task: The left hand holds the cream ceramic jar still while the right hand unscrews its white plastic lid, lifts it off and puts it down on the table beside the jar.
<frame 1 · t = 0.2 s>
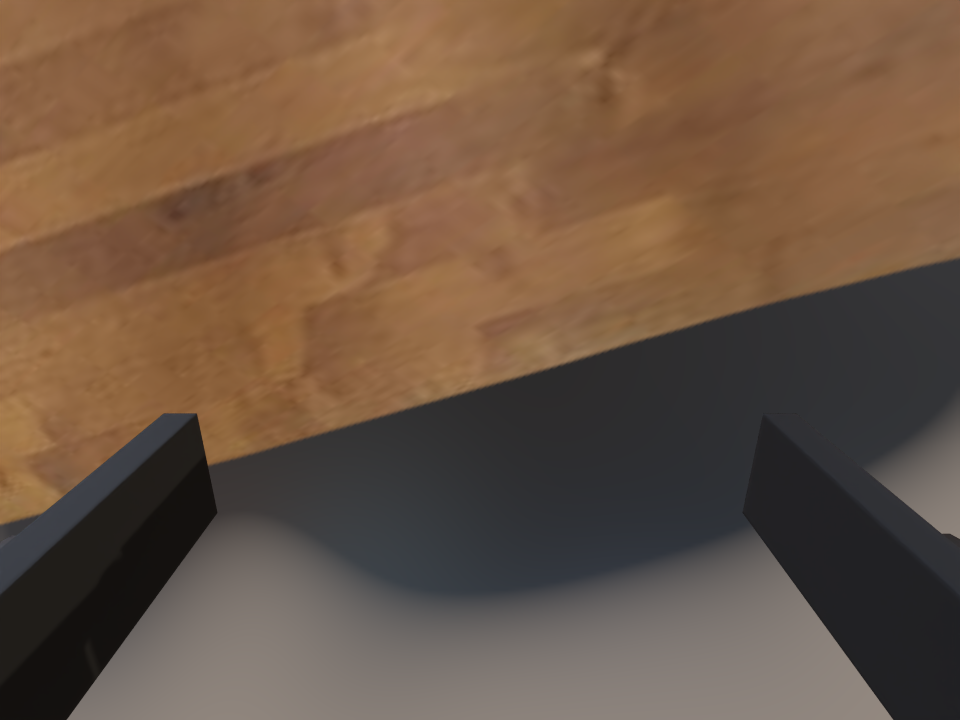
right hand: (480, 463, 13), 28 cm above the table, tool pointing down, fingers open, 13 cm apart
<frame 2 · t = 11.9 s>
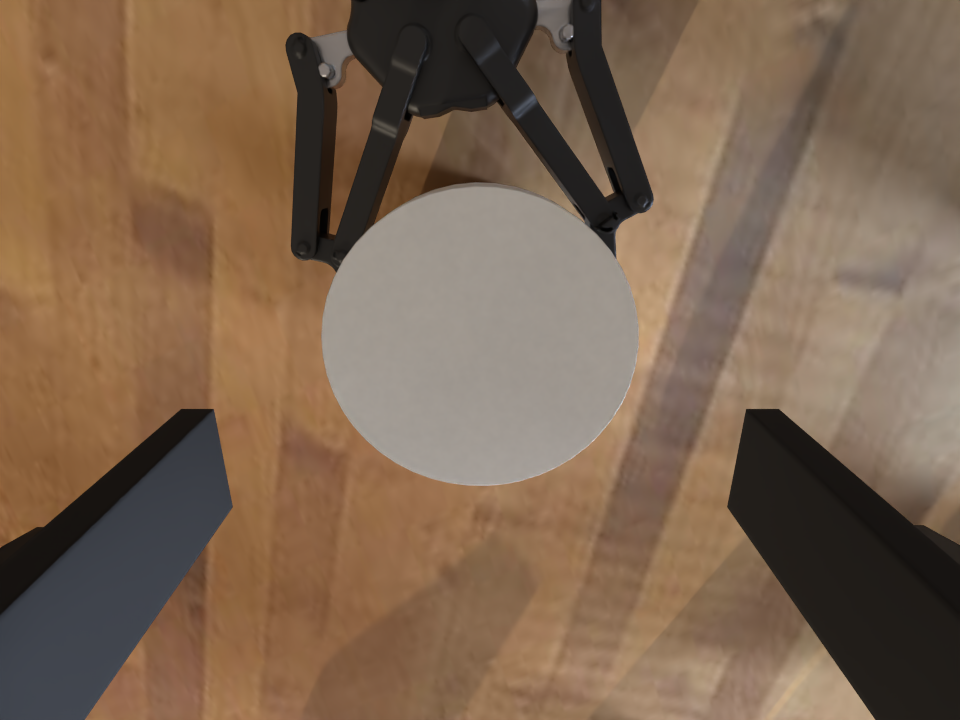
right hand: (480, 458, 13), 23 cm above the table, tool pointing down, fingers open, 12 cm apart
left hand: (490, 365, 30), fingers closed on jar, 10 cm apart
lid: (480, 348, 20), point 16 cm above the table, screwed on, not yet turned
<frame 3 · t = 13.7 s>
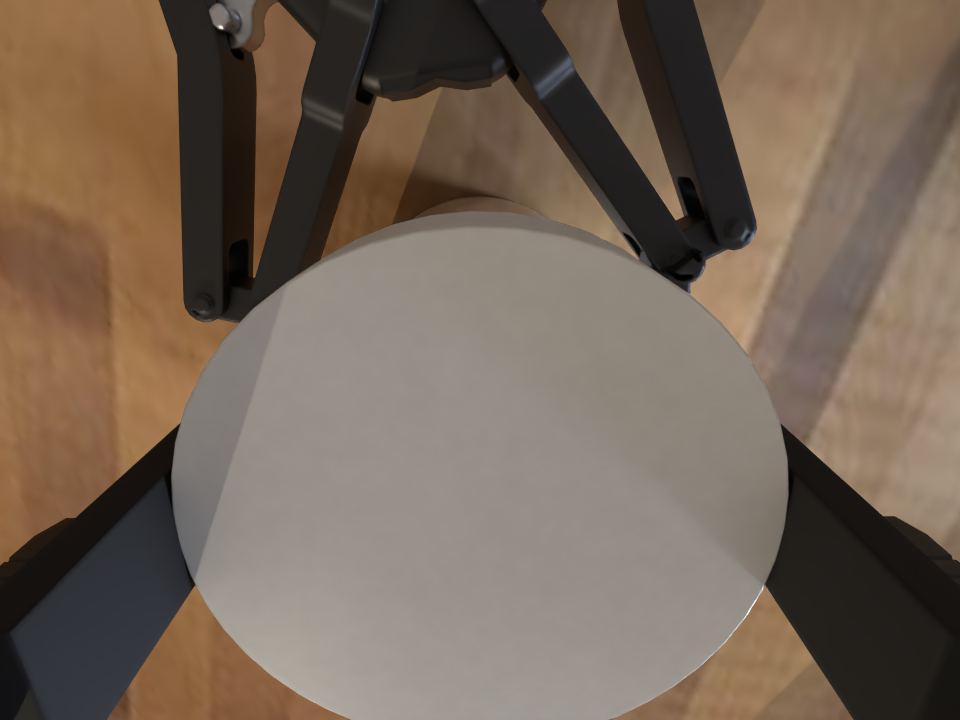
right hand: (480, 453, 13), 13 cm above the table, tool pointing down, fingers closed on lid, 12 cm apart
left hand: (495, 466, 20), fingers closed on jar, 10 cm apart
jar: (480, 311, 25), on the table, touching left hand
lid: (480, 524, 11), point 16 cm above the table, screwed on, not yet turned, touching right hand
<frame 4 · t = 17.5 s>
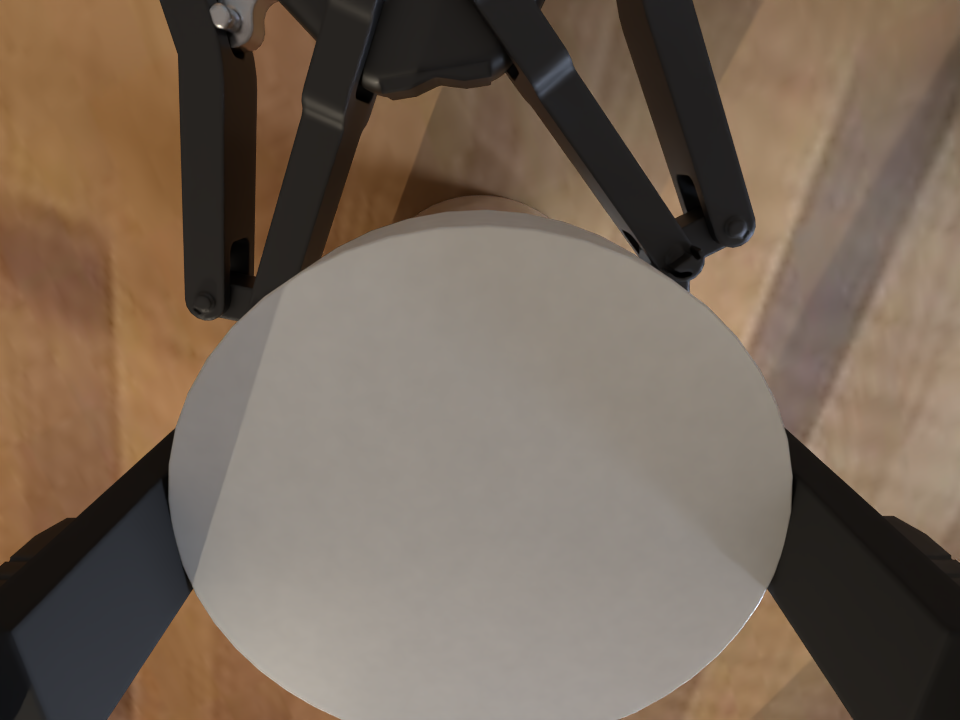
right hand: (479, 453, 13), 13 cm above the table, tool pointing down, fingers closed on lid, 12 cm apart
left hand: (495, 463, 21), fingers closed on jar, 10 cm apart
jar: (480, 309, 25), on the table, touching left hand
lid: (480, 527, 11), point 16 cm above the table, turned 132° so far, risen 0.2 cm, still on its thread, touching right hand
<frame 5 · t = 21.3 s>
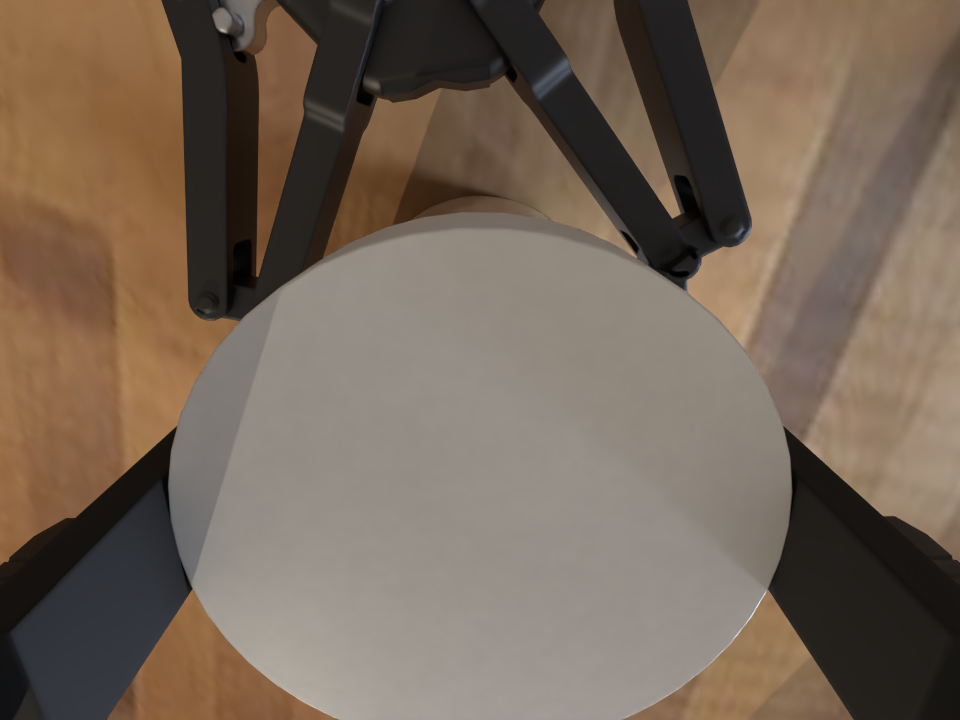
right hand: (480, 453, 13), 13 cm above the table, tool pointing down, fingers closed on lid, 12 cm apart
left hand: (495, 461, 21), fingers closed on jar, 10 cm apart
jar: (480, 309, 26), on the table, touching left hand
lid: (480, 528, 11), point 16 cm above the table, turned 263° so far, risen 0.4 cm, still on its thread, touching right hand
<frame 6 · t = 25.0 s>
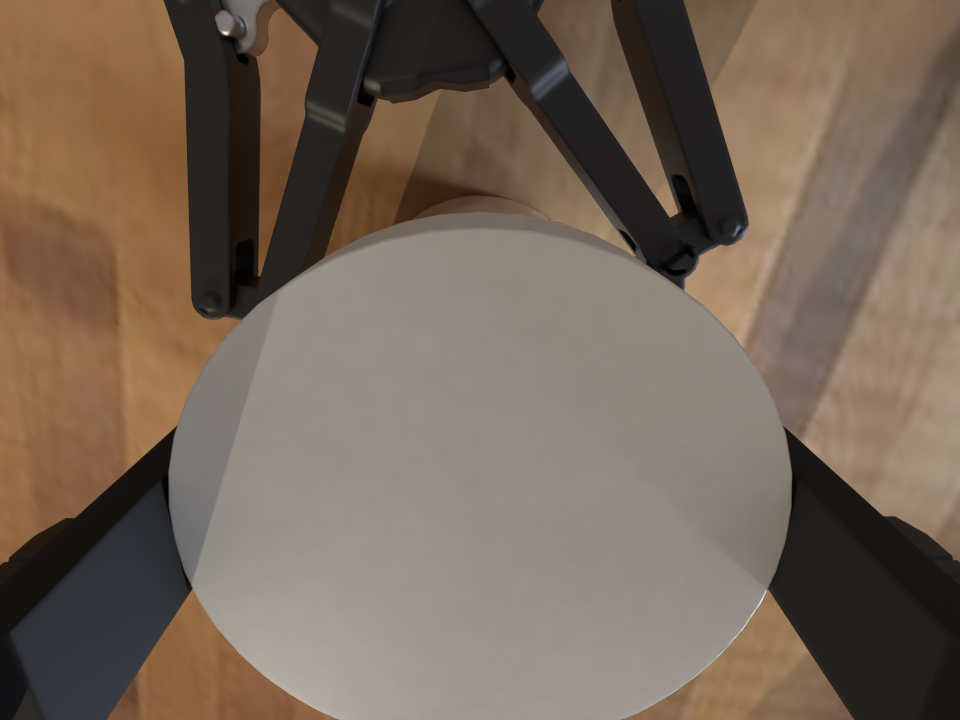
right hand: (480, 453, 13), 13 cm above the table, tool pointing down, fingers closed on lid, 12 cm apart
left hand: (496, 459, 21), fingers closed on jar, 10 cm apart
jar: (480, 308, 26), on the table, touching left hand
lid: (480, 528, 11), point 16 cm above the table, turned 395° so far, risen 0.6 cm, still on its thread, touching right hand
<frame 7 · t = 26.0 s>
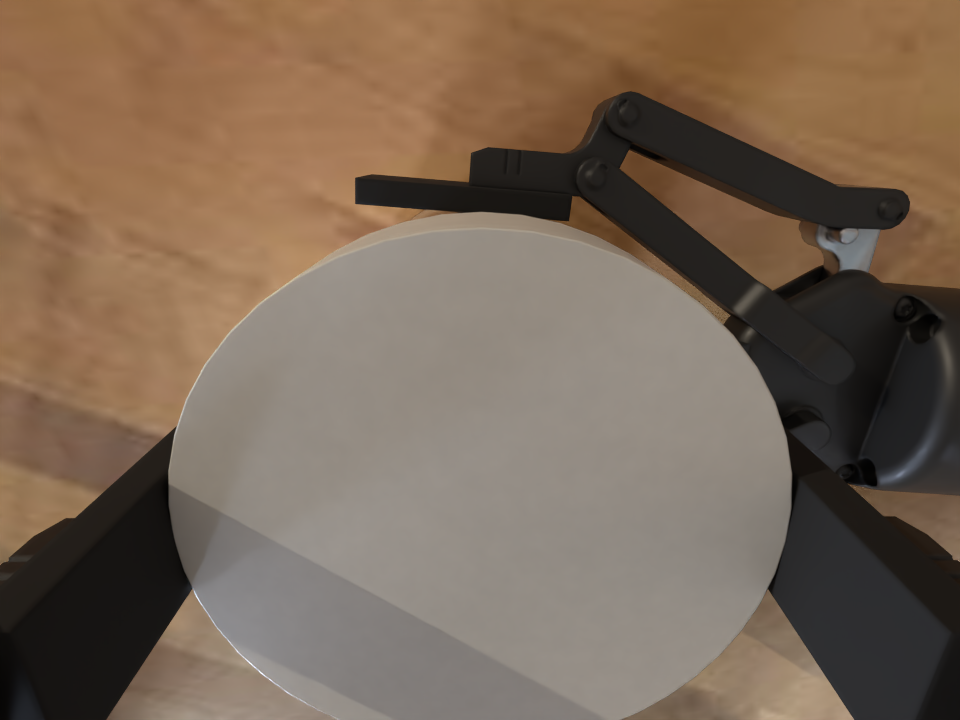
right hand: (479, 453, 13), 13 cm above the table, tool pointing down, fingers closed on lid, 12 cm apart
left hand: (363, 348, 20), fingers closed on jar, 10 cm apart
lid: (480, 528, 11), point 16 cm above the table, turned 498° so far, risen 0.8 cm, still on its thread, touching right hand
when the right hand's fingers open (0 cm above the table, at t = 32.2 s): lid drops 1 cm, point 2 cm above the table.
when the left hand's fingers open (7 cm above the table, at t = 33.2 s): jar stays where it is, on the table.
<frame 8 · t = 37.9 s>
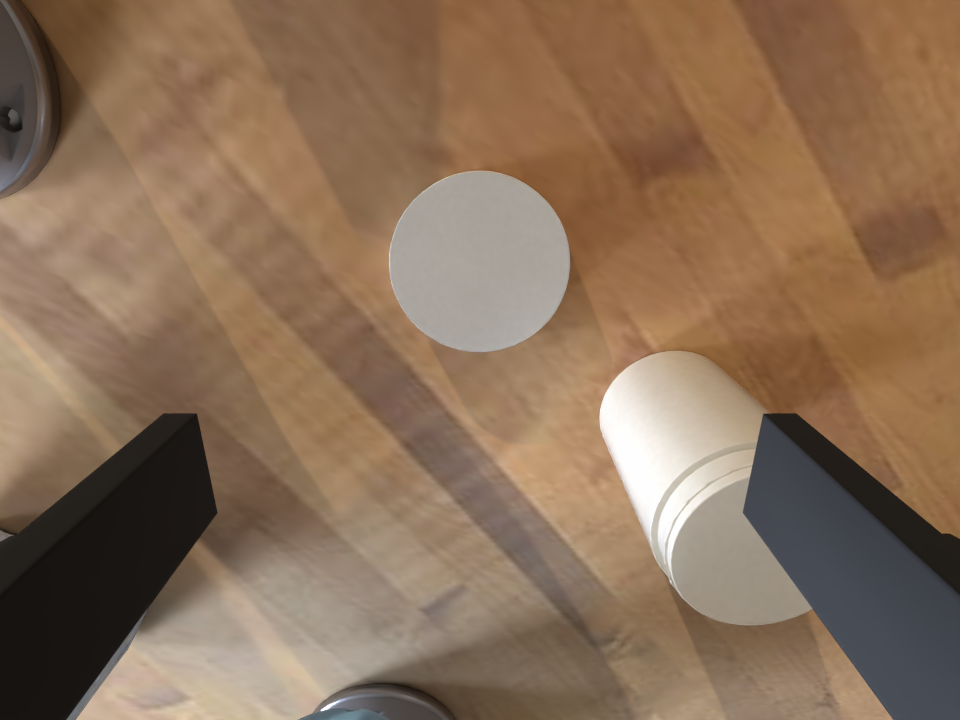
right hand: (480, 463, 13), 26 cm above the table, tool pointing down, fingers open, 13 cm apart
hard drive box: (57, 584, 47), on the table
jar: (667, 413, 41), on the table
lid: (479, 266, 35), point 2 cm above the table, off its thread
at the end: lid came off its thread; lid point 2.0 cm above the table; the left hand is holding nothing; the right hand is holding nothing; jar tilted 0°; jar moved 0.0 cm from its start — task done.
